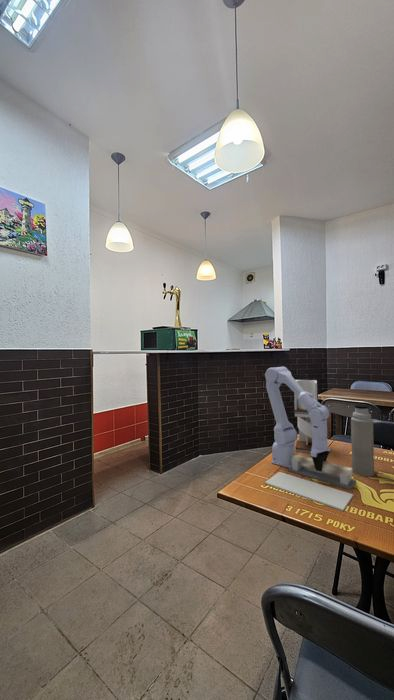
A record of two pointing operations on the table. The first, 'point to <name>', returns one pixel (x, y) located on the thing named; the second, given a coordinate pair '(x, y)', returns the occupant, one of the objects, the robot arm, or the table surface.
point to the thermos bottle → (362, 441)
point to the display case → (304, 417)
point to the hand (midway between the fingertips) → (320, 469)
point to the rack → (322, 475)
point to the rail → (326, 466)
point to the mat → (311, 490)
